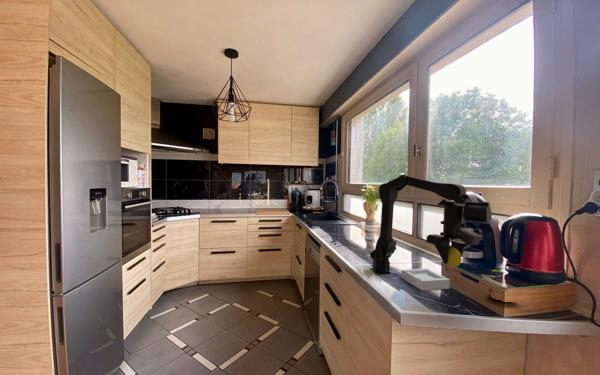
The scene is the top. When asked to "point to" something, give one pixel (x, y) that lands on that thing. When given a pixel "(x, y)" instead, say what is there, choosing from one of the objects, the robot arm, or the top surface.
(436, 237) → the robot arm
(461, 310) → the top surface
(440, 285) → the white square tray
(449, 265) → the lemon
